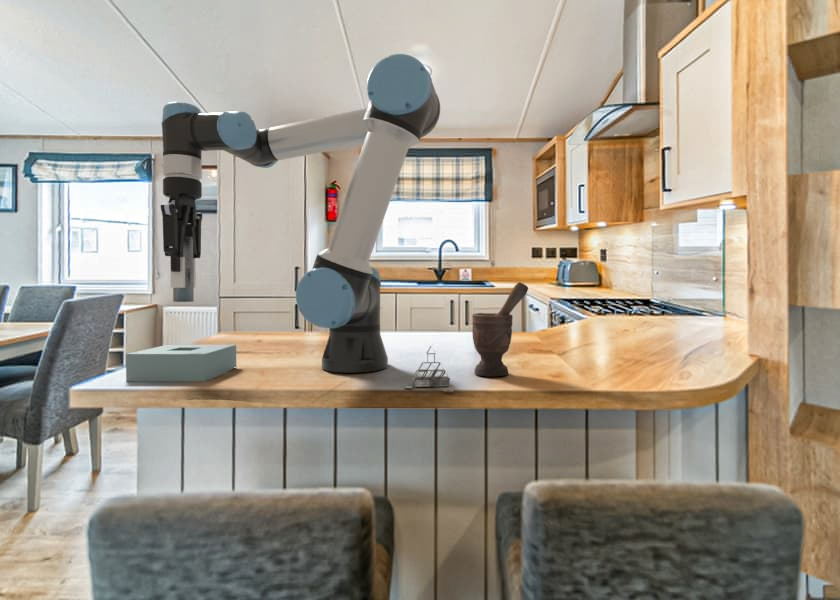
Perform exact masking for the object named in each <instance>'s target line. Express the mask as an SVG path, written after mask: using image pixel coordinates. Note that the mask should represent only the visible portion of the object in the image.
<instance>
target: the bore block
mask: <svg viewBox="0 0 840 600" xmlns="http://www.w3.org/2000/svg"><path fill="white" fill-rule="evenodd" d="M234 367H236V368H237V344H165V345H161V346H155V347H152V348H147V349H142V350H138V351H133V352H129V353H126V354H125V373H126V374H125V376H126V378H125V380H126V381H125V382H207V381H209V380H212V379H214V378H217V377H219V376H222V375H223V374H227V373H228V371H229V370H231V369H233V368H234ZM233 370H234V369H233ZM231 371H232V370H231ZM229 372H230V371H229Z"/></svg>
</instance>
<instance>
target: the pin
mask: <svg viewBox="0 0 840 600" xmlns="http://www.w3.org/2000/svg"><path fill="white" fill-rule="evenodd" d="M180 257H185V288H172V302H174V303H191V302H192V303H193V302H194V301H195V297H194V295H195V294H194V293H195V292H194V289H195V288H194V281H193V237H190V236H184V243H183V254H182V256H180Z"/></svg>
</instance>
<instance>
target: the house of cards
mask: <svg viewBox="0 0 840 600" xmlns="http://www.w3.org/2000/svg"><path fill="white" fill-rule="evenodd" d="M431 349H432V350H433V352H432V353H431V352H430V353H429V351H431ZM426 355H427V358H426V361H423V362H421V363H420V366H419V367H418V369H416V371H415V373H414V374H413V376H411V378H412V379H411V380H412V381H411V382H412V383H411V384H412V385H407V386H405V388H406V389H412V388H413V387H415V388H416V387H421V388H422V387H428V388H430V387H436V388H437V387H450V383H451V382H450V380H451V378H450V376H449V375H448V373H447V372H446V370H445V368H444V366H443V365H442V362H440V361H436V359H435V358H436V353H435V350H434V348H433V347H432V345H430V346H429V347H428V350H427V352H426ZM429 355H433V361H432V362H431V361H429ZM425 364H429V365H428V367H427V368H425V369H423V368H422V366H425ZM433 364H438V365H437V366H436V368H435V366H434V365H433ZM431 366H432V367H433V368H434V369H430V367H431ZM440 366H441V367H442V368H441V369H439V367H440ZM421 368H422V369H421ZM429 372H430V373H429ZM420 373H423V374H422V375H421V374H420ZM438 373H440V374H439V375H437V376H436V374H438ZM445 374H446V375H445ZM418 375H419V376H418ZM453 391H454V389H443V392H453Z"/></svg>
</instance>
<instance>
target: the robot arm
mask: <svg viewBox="0 0 840 600" xmlns="http://www.w3.org/2000/svg"><path fill="white" fill-rule="evenodd" d="M366 92H367V97H368V99H369V101H368V105H367V107H366V108H361V109H356V110H350V111H346V112H340V113H335V114H331V115H325V116H322V117H316V118H310V119H306V120H305V119H304V120H301V121H296V122H291V123H290V122H289V123H286V124H281V125H276V126H271V127H267V128H262V129H257V127H256V124H255V121H254V120H253V119H252V116H251V115H250V114H249V113H247V112H246V111H242V110H240V111H239V110H237V111H235V110H227V111H218V112H207V113H202V111H201V109H200V108H199V107H197V106H196V105H194V104H191V103H188V102H180V101H179V102H178V101H172V102H171V101H170V102H168V103H166V104H165V105H164V106H163V109H162V117H161V118H162V119H161V120H162V121H161V128H162V129H161V131H162V147H163V148H162V163H161V167H162V175H163V176H164V178H163V179H162V194H163V195H164V196H165V197H166V198H169V199H168V201H167V202H168V203H161V204H160V211H161V215H162V237H163V241H162V242H163V243H162V244H163V245H162V246H163V252H164V256H165V257H170V260H169V262H170V263H169V264H170V289H171V288H172V289H173V288H185V257H180V256H182V254H183V243H184V236H190V237H193V281H194V289H196V287H197V285H196V282H197V281H196V280H197V276H196V273H197V272H196V259H200V258H201V254H202V221H203V213H202V212H197V206H196V200H200V199H201V198H202V195H203V191H202V189H203V187H202V185H203V183H202V181H200V180H201V179H202V177H203V176H202V175H203V173H202V172H203V171H202V170H203V169H202V168H203V167H202V166H203V165H202V152H203V151H204V152H207V151H224V152H226V153H228V154H230V155H233V156H234V157H237V158H239V159H241V160H242V161H243V160H244V161H245V162H246V163H249V164H250V165H252V166H254V167H257V168H259V167H260V168H264V169H268V168H271V167H273V166H274V165H276V164H277V162H278V161H282V160H287V159H293V158H298V157H299V158H300V157H304V156H305V157H306V156H311V155H317V154H320V153H321V154H322V153H328V152H332V151H337V150H343V149H349V148H354V147H360V146H361V151H359V152H360V153H359V156H358V159H357V162H356V163H355V164H356V165H355V168H354V170H353V173H352V177H351V178H350V182H349V185H348V188H347V190H346V193H345V194H346V195H345V196H344V200H343V203H342V204H341V205H342V206H341V209H340V212H339V214H338V217H337V219H336V224H335V225H334V229H333V231H332V235H331V238H330V240H329V244H328V245H327V247H326V248H325V249H323V250H321V251H319V252H317V253H316V258H315V260H314V263H313V267H312V269H310V270H309V271H308V272H306V273H305V274H304V275H303V276H302V277H301V278H300V280H299V281H298V284H297V287H296V290H295V301H296V306H297V308H298V310H299V312H300V313H301V315H302V317H303V318H304V319H305V320H306V321H307V322H309V323H310V324H311V325H313V326H316V327H318V328H323V329H329V334H328V335H329V336H328V339H327V342H326V345H325V349H324V351H323V354H322V358H321V369H322V370H324V371H327V372H334V373H345V374H346V373H369V372H371V373H372V372H378V371H382V370H385V369H387V368H388V367H389V366H388V365H389V364H388V363H389V361H388V360H389V359H388V358H389V357H388V355H387V350H386V348H385V345H384V343H383V338H382V336H381V286H382V284H381V283H382V281H381V278H380V277H381V276H380V271H379V270H378V269H377V268H375V267H372V266H371V265H370V259H371V255H372V254H373V250H374V248H375V244H376V242H377V239H378V235H379V233H380V230H381V228H382V225H383V221H384V219H385V216H386V213H387V210H388V207H389V205H390V201H391V199H392V197H393V193H394V191H395V187H396V185H397V182H398V179H399V176H400V173H401V170H402V168H403V165H404V162H405V159H406V156H407V154H408V151H409V149H410V148H413V147H414V146H416V145H418V144H419V142H420V139H422V138H424V137H426V136H427V135H428V134H430V133H431V132H432V131H433V130H434V129H435V127H436V125H438V122H439V119H440V114H441V103H440V98H439V96H438V94H437V91H436V89H435V87H434V83H433V80H432V77H431V75H430V72H429V71H428V69H427V68H426V67H425V66H424V64H423V63H422V62H421V61H420V60H419V59H417V58H416V57H414V56H412V55H409V54H407V53H406V54H405V53H395V54H390V55H388V56H387V57H384V58H382V59H381V60H379V61H378V62H376V64H375V65H374V66H373V67H372V69H371V71H370V72H369V74H368V77H367V80H366Z"/></svg>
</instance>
